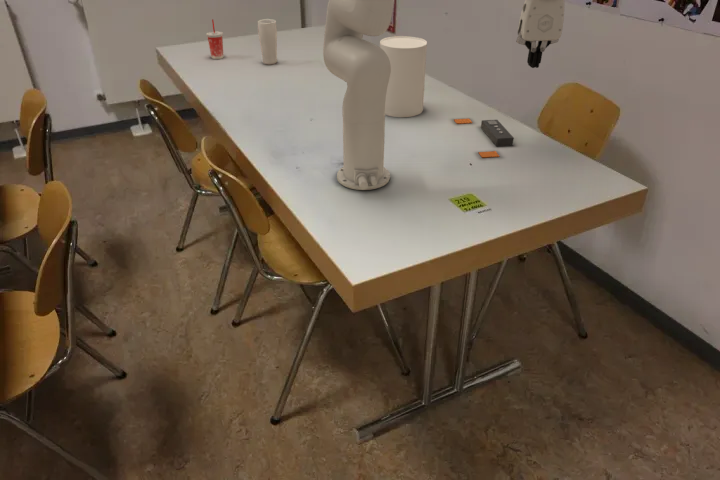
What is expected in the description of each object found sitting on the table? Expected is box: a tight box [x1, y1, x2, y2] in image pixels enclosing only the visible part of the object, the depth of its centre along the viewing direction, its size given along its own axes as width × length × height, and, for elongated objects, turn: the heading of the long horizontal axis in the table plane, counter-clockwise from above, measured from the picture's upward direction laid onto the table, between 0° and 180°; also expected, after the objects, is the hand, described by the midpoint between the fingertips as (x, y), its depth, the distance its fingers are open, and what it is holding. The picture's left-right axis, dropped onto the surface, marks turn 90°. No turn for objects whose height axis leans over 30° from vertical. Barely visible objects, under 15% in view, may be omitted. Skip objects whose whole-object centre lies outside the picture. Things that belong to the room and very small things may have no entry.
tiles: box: [453, 118, 500, 159], centre depth 157 cm, size 26×5×1 cm, turn 8°
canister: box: [379, 35, 428, 118], centre depth 170 cm, size 14×14×20 cm
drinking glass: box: [257, 18, 278, 65], centre depth 211 cm, size 7×7×15 cm
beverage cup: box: [205, 18, 225, 60], centre depth 217 cm, size 6×6×14 cm
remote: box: [480, 119, 515, 147], centre depth 157 cm, size 13×5×2 cm, turn 8°
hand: (533, 66), depth 148 cm, fingers closed
